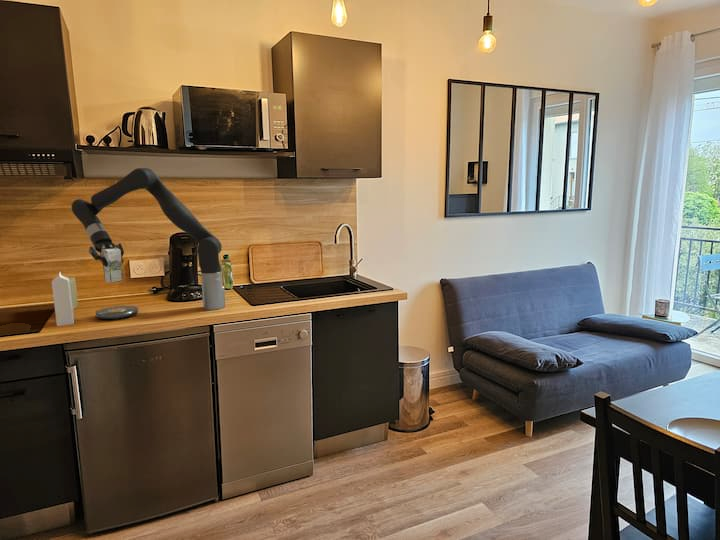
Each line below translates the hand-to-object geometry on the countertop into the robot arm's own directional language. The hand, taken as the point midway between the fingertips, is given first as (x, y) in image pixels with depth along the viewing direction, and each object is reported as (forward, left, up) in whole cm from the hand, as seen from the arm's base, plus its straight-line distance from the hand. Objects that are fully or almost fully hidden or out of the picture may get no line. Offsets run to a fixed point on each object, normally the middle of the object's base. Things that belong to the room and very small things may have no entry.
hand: (114, 264), depth 212 cm
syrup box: (0, -2, -8) cm, 8 cm away
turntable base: (0, -2, -23) cm, 23 cm away
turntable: (0, -2, -22) cm, 22 cm away
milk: (+19, -8, -24) cm, 31 cm away
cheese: (+12, -27, -24) cm, 38 cm away
